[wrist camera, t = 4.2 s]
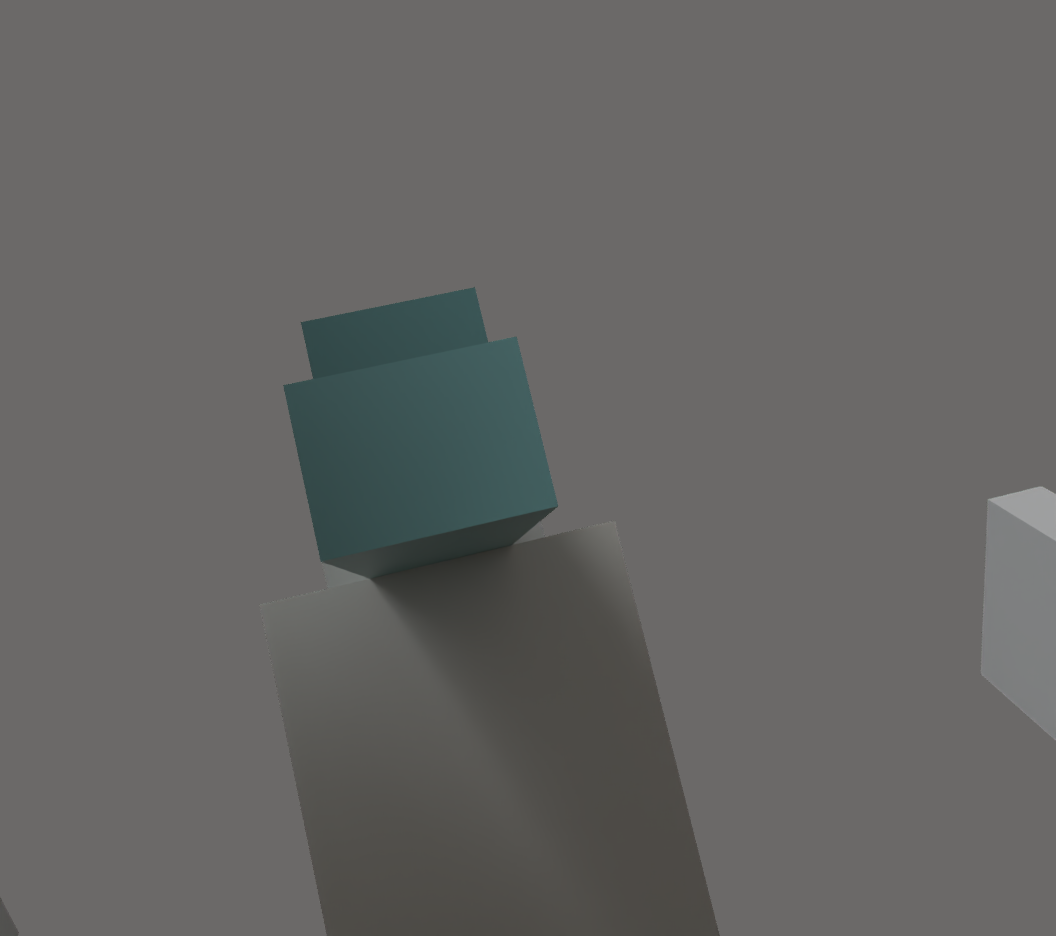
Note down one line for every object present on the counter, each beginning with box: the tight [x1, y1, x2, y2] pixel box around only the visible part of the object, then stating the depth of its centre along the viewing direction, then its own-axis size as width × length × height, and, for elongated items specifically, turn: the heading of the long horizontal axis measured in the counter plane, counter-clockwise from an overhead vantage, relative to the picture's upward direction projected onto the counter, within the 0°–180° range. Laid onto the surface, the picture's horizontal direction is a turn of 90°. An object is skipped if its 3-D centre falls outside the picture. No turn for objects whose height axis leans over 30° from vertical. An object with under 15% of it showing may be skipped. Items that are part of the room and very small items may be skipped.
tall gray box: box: [260, 521, 720, 936], centre depth 33 cm, size 18×10×34 cm, turn 5°
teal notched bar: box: [284, 287, 558, 579], centre depth 28 cm, size 26×4×4 cm, turn 5°
